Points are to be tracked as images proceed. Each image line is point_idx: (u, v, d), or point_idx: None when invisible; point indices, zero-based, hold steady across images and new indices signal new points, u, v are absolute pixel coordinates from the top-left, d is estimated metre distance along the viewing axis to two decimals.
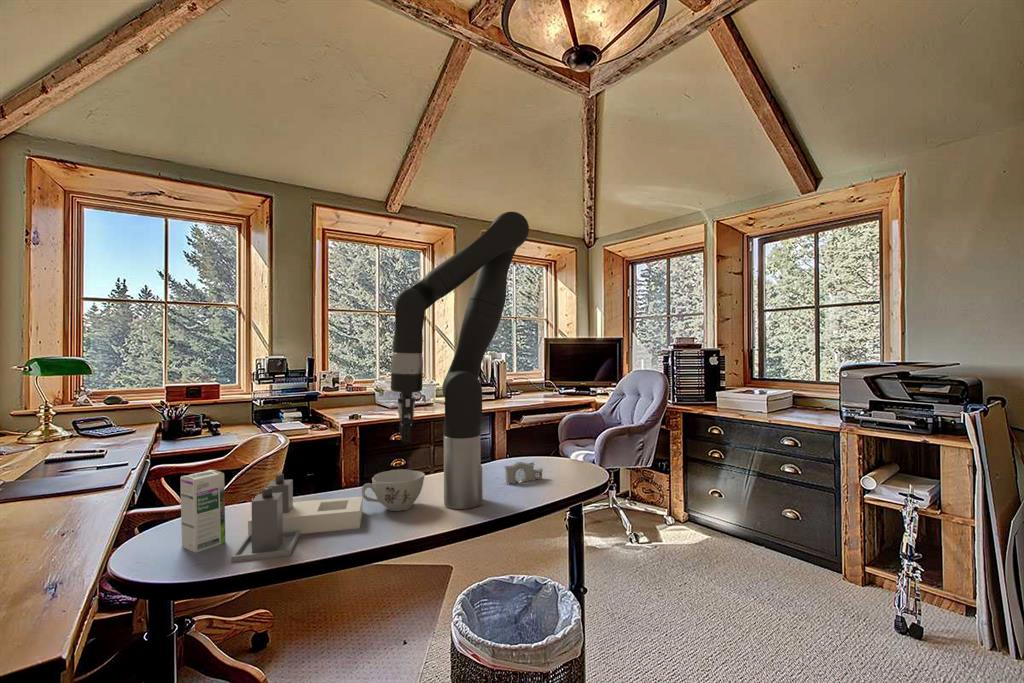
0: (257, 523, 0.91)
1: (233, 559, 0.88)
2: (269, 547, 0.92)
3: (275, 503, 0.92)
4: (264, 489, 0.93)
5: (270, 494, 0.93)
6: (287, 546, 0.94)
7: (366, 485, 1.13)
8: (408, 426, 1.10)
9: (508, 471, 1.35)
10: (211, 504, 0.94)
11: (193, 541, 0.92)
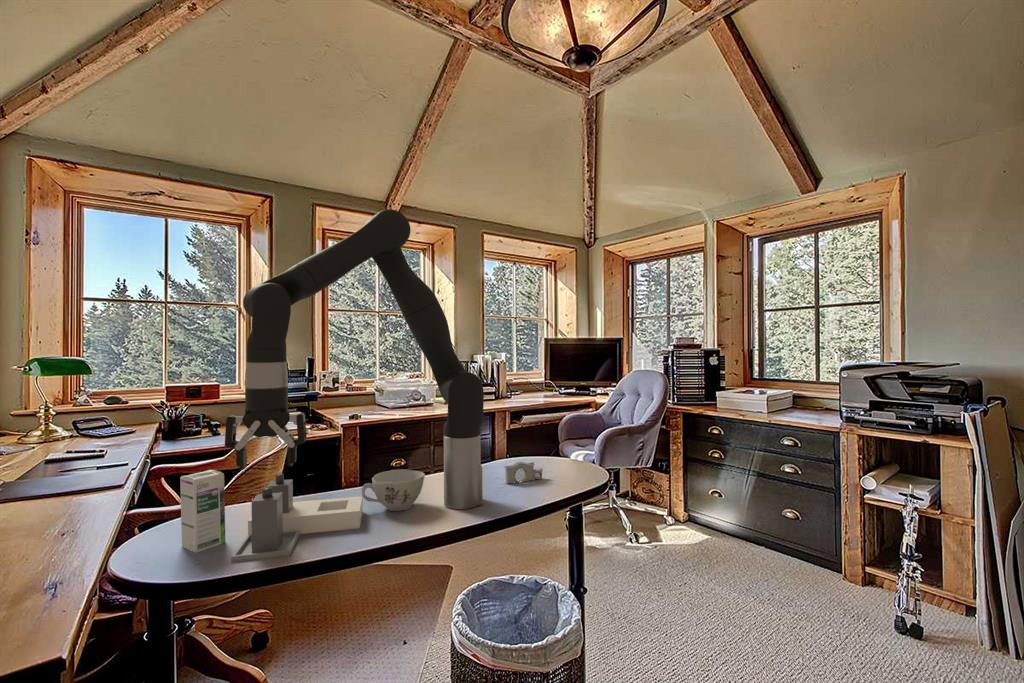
0: (257, 523, 0.91)
1: (233, 559, 0.88)
2: (269, 547, 0.92)
3: (275, 503, 0.92)
4: (264, 489, 0.93)
5: (270, 494, 0.93)
6: (287, 546, 0.94)
7: (366, 485, 1.13)
8: None
9: (508, 471, 1.35)
10: (211, 504, 0.94)
11: (193, 541, 0.92)
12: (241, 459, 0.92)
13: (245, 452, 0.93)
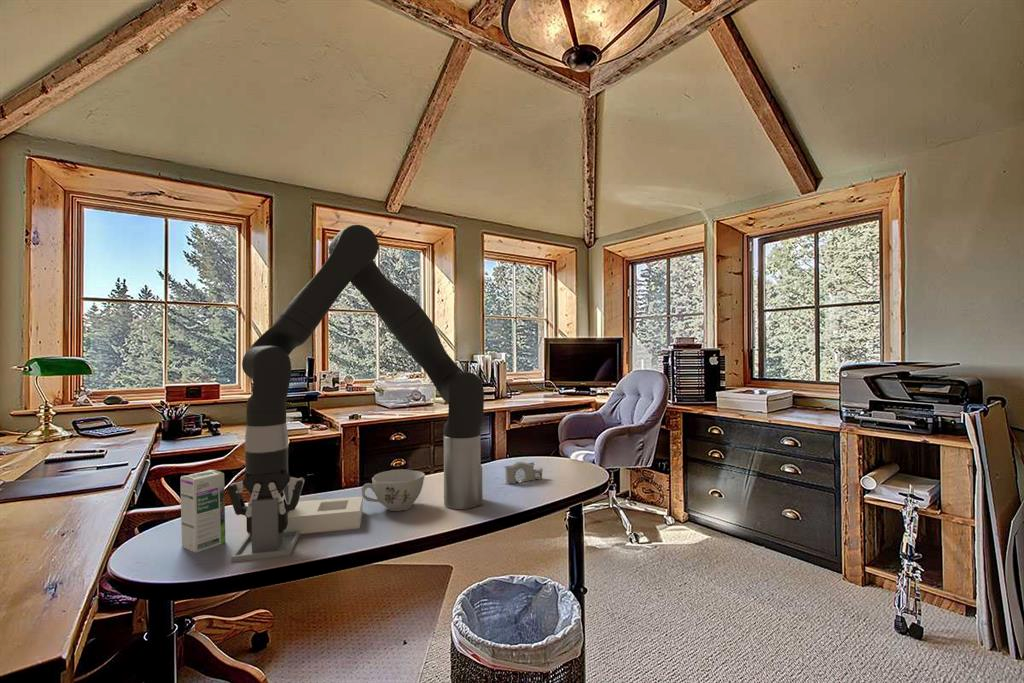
0: (257, 523, 0.91)
1: (233, 559, 0.88)
2: (269, 547, 0.92)
3: (275, 503, 0.92)
4: None
5: None
6: (287, 546, 0.94)
7: (366, 485, 1.13)
8: None
9: (508, 471, 1.35)
10: (211, 504, 0.94)
11: (193, 541, 0.92)
12: (251, 526, 0.92)
13: None
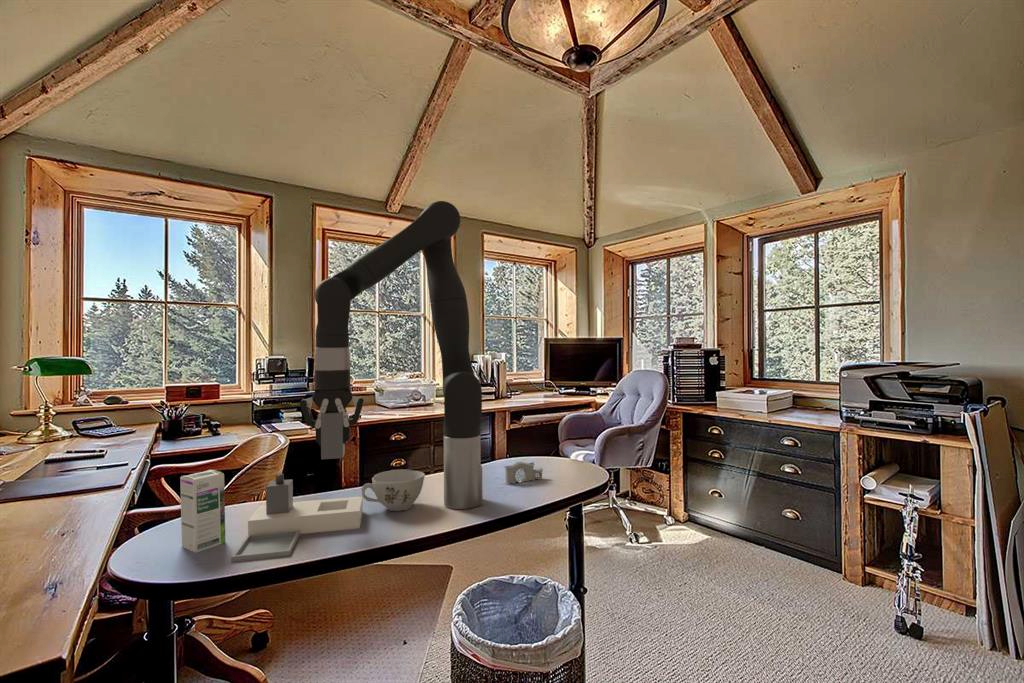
0: (325, 432, 1.04)
1: (233, 559, 0.88)
2: (336, 454, 1.05)
3: (341, 416, 1.05)
4: None
5: None
6: (287, 546, 0.94)
7: (366, 485, 1.13)
8: None
9: (508, 471, 1.35)
10: (211, 504, 0.94)
11: (193, 541, 0.92)
12: (320, 436, 1.05)
13: None
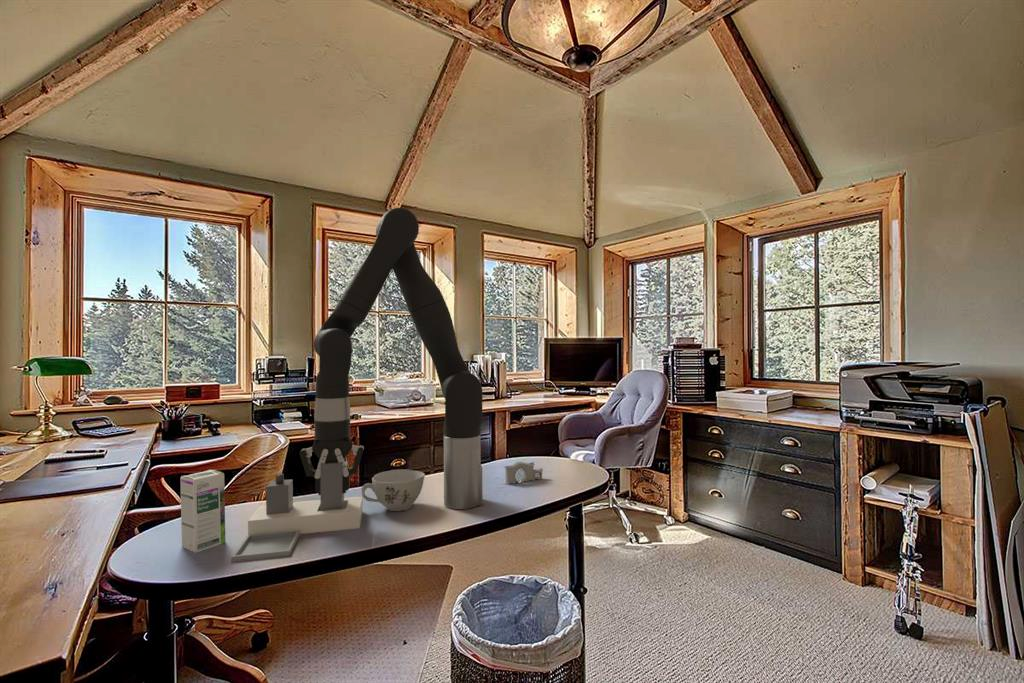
0: (325, 483, 1.04)
1: (233, 559, 0.88)
2: (335, 505, 1.05)
3: (340, 466, 1.05)
4: None
5: None
6: (287, 546, 0.94)
7: (366, 485, 1.13)
8: None
9: (508, 471, 1.35)
10: (211, 504, 0.94)
11: (193, 541, 0.92)
12: (319, 486, 1.05)
13: None
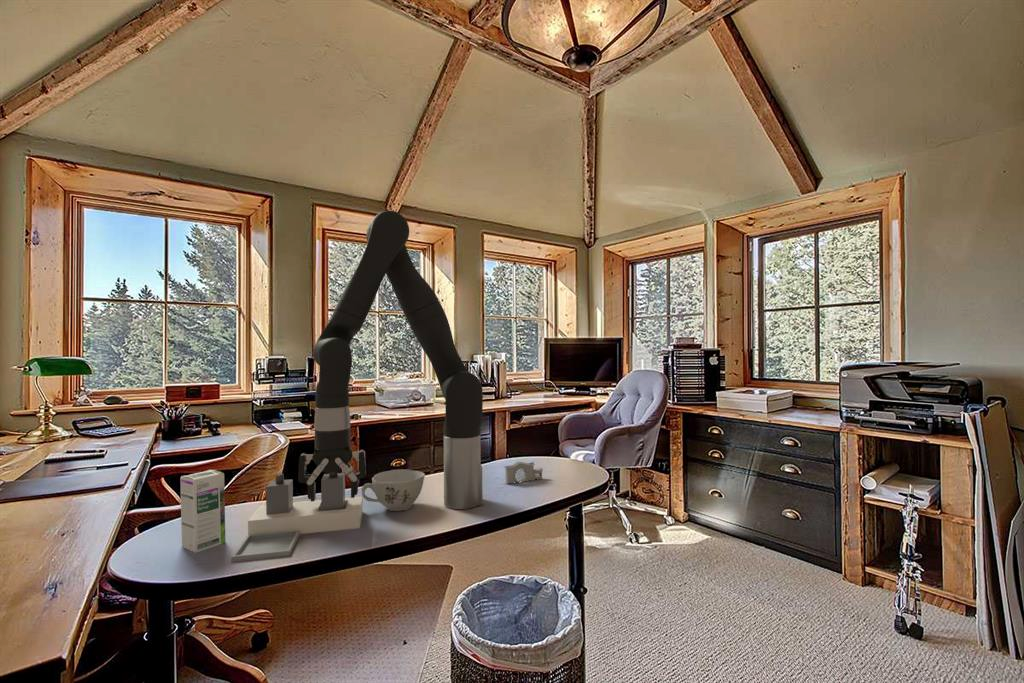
0: (326, 498, 1.04)
1: (233, 559, 0.88)
2: None
3: (341, 481, 1.05)
4: None
5: (336, 474, 1.06)
6: (287, 546, 0.94)
7: (366, 485, 1.13)
8: None
9: (508, 471, 1.35)
10: (211, 504, 0.94)
11: (193, 541, 0.92)
12: (312, 492, 1.04)
13: (315, 486, 1.06)
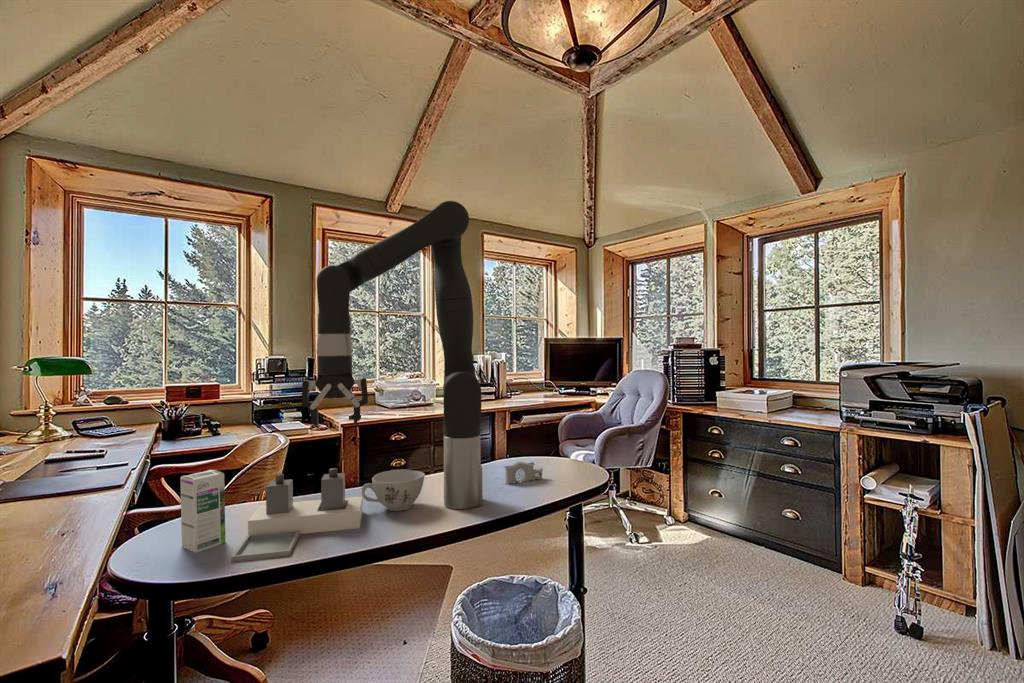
0: (326, 498, 1.04)
1: (233, 559, 0.88)
2: None
3: (341, 481, 1.05)
4: (331, 469, 1.06)
5: (336, 474, 1.06)
6: (287, 546, 0.94)
7: (366, 485, 1.13)
8: None
9: (508, 471, 1.35)
10: (211, 504, 0.94)
11: (193, 541, 0.92)
12: (315, 417, 1.07)
13: (317, 412, 1.08)
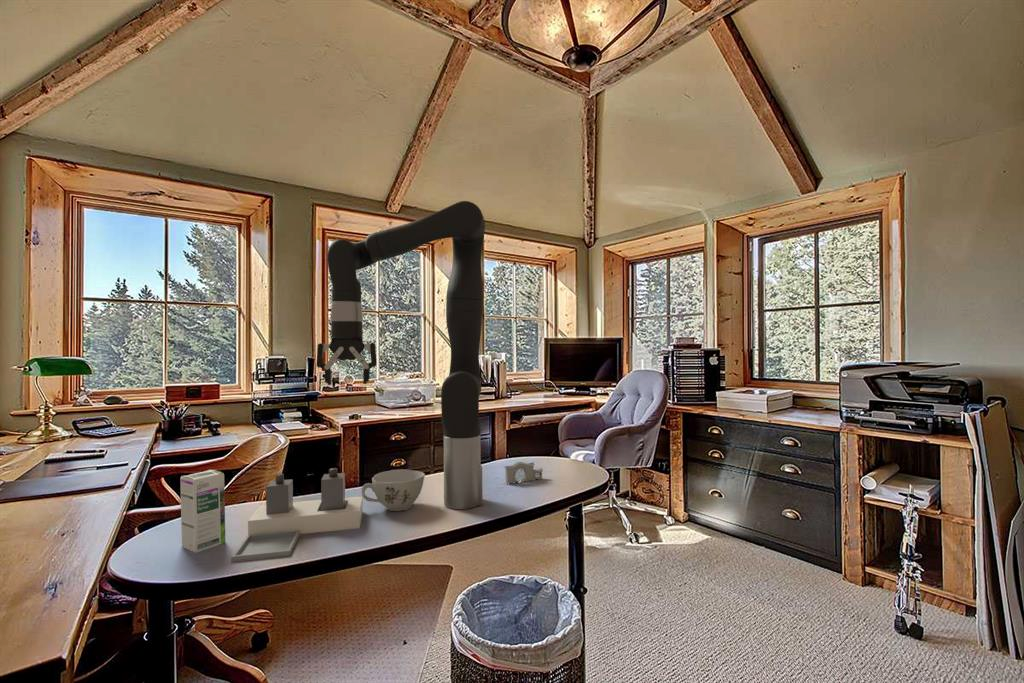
0: (326, 498, 1.04)
1: (233, 559, 0.88)
2: None
3: (341, 481, 1.05)
4: (331, 469, 1.06)
5: (336, 474, 1.06)
6: (287, 546, 0.94)
7: (366, 485, 1.13)
8: None
9: (508, 471, 1.35)
10: (211, 504, 0.94)
11: (193, 541, 0.92)
12: (329, 377, 1.18)
13: (331, 372, 1.19)
